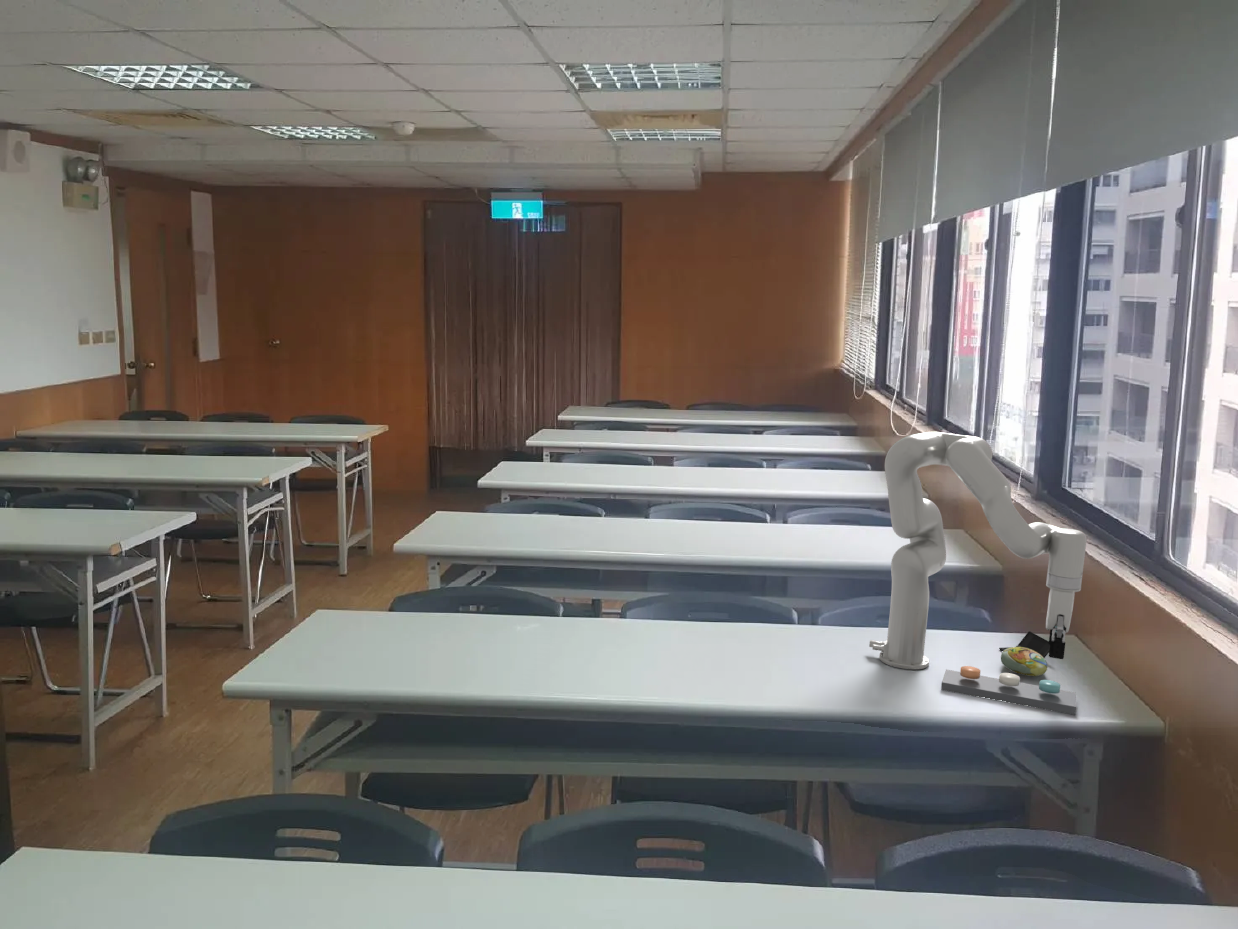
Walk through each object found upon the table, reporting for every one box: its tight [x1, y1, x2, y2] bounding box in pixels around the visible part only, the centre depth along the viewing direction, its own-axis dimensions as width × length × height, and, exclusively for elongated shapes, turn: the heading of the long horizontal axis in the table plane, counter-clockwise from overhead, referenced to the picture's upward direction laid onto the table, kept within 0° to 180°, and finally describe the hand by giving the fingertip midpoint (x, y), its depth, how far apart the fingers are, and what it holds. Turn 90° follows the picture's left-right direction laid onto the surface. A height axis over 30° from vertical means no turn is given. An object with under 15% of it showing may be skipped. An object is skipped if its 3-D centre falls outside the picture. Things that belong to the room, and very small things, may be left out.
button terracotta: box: [959, 665, 981, 679], centre depth 248 cm, size 5×5×2 cm
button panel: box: [940, 668, 1077, 716], centre depth 245 cm, size 30×10×2 cm, turn 67°
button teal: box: [1038, 679, 1061, 694], centre depth 241 cm, size 5×5×2 cm
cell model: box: [1000, 646, 1048, 677], centre depth 262 cm, size 11×8×15 cm
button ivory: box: [998, 672, 1021, 686], centre depth 244 cm, size 5×5×2 cm
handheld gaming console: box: [998, 631, 1050, 659], centre depth 274 cm, size 12×7×10 cm
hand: (1055, 651), depth 240 cm, fingers open, 9 cm apart
